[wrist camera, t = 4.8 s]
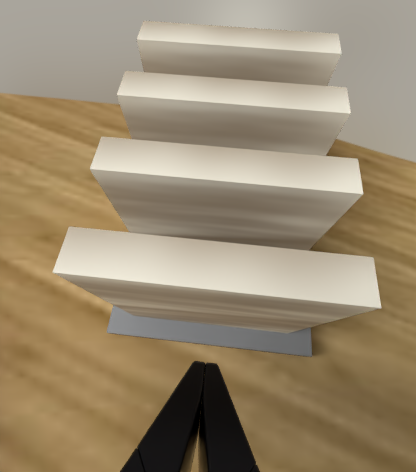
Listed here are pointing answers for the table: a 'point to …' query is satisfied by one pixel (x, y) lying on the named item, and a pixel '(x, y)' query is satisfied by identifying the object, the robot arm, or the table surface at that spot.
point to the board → (211, 334)
